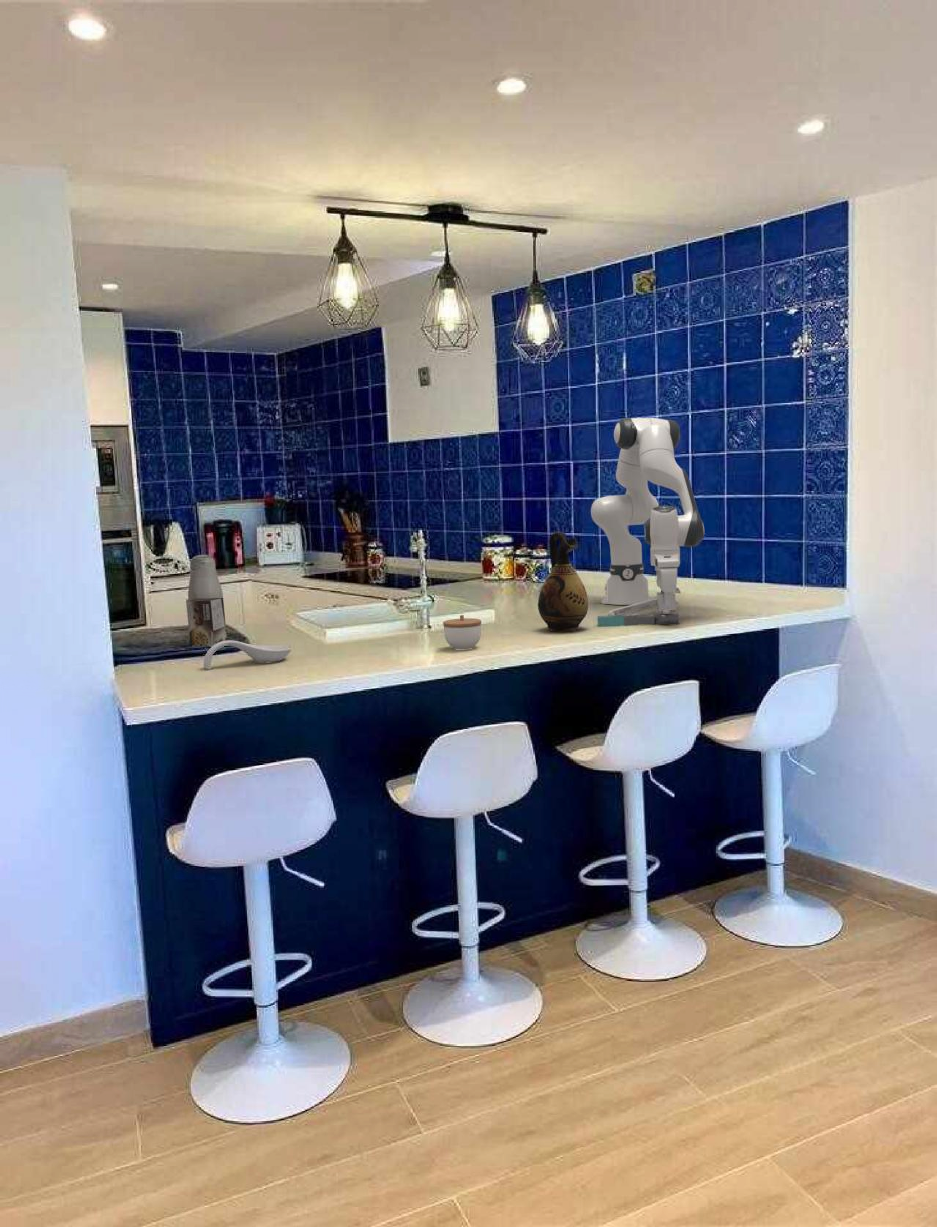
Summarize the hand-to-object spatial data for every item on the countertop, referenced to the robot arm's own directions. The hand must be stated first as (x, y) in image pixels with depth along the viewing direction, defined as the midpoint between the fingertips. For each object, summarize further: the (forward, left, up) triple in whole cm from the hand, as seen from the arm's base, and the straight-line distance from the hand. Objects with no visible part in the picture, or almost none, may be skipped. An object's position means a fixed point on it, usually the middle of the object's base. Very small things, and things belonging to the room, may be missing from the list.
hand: (666, 604), depth 296 cm
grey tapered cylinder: (+9, -143, -6) cm, 143 cm away
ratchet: (0, -9, -6) cm, 10 cm away
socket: (0, 0, -2) cm, 2 cm away
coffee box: (+27, -136, -6) cm, 139 cm away
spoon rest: (+46, -118, -6) cm, 127 cm away
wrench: (-21, -5, -6) cm, 23 cm away
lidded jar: (+33, -60, -6) cm, 69 cm away
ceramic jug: (+5, -32, -6) cm, 33 cm away
